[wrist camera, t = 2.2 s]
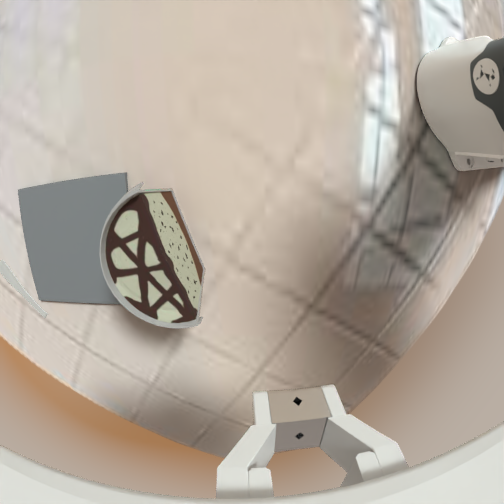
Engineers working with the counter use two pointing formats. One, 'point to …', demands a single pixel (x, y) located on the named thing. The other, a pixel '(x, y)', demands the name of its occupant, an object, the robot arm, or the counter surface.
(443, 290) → the counter surface
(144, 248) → the food container
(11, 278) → the butter knife
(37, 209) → the mat
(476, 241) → the counter surface
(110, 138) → the counter surface
